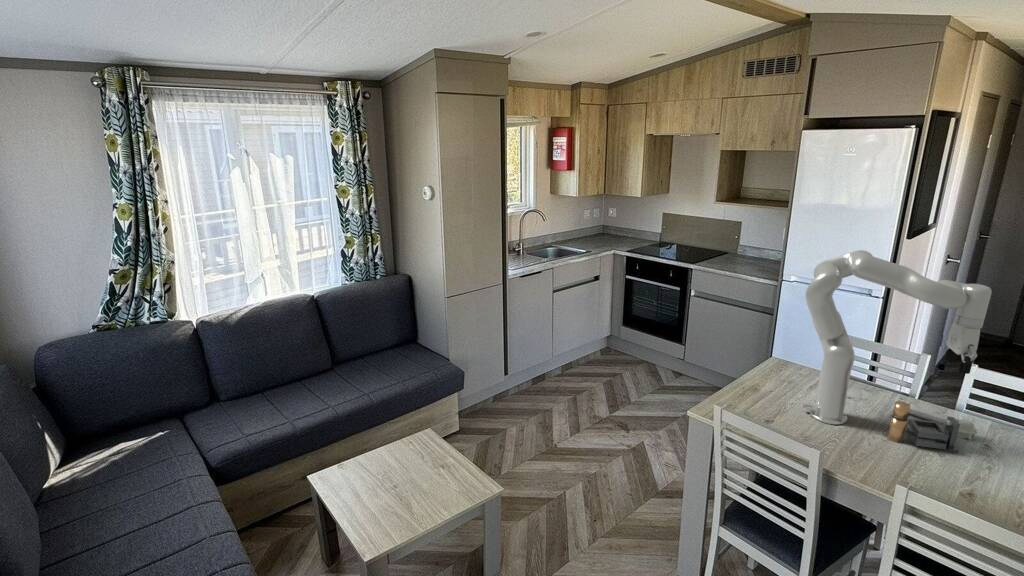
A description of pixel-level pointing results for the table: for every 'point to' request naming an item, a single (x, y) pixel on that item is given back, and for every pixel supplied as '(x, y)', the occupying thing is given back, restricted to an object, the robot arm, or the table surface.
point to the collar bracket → (934, 434)
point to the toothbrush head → (944, 420)
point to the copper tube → (898, 421)
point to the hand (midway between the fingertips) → (956, 366)
